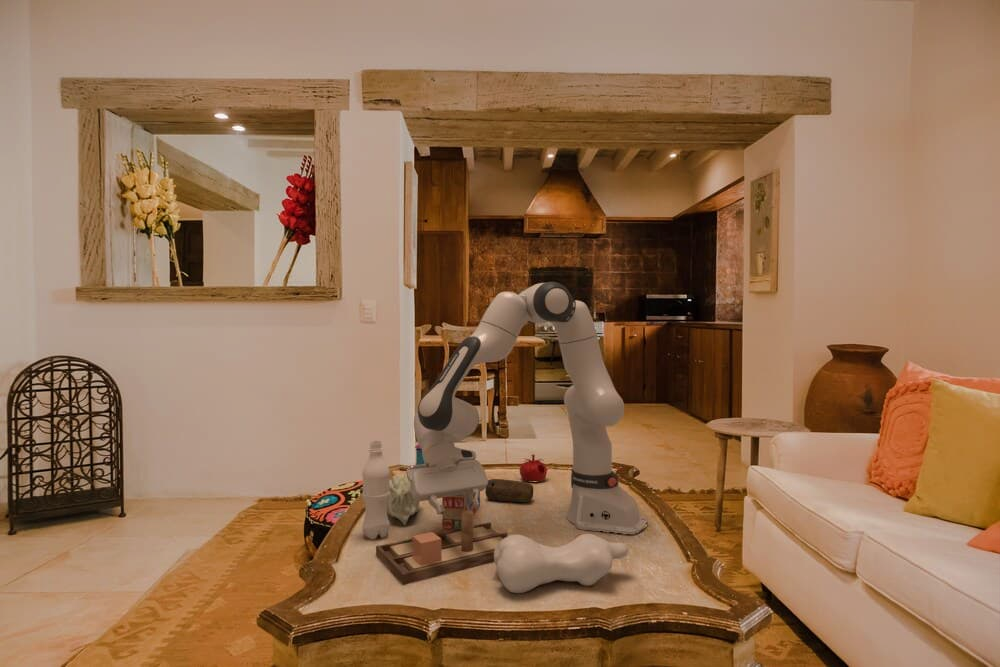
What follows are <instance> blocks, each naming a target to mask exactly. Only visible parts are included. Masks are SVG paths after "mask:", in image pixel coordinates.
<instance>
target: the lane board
mask: <svg viewBox="0 0 1000 667" xmlns="http://www.w3.org/2000/svg"><path fill="white" fill-rule="evenodd" d="M482 526H483V527H484V528H486V529H487V530H489V531H491V532H492V533H494V535H491V536H487V537H482V538H478V539H473V542H478V541H482V540H486V539H491V538H495V537H499V536H500V537H502V538H503V539H504V538H506V537H508V536H509V535H508V532H506V531H505V532H498V531H497V530H495V529H493V528H492V522H484V523H479V524H475V525H474V524H473V528H478V527H482ZM459 531H461V528H460V529H455V530H447V531H442V532H437V533H436V532H435V534H436V535H437V536H438V537H440V538H441V550H443V549H447V548H452V547H456V546H460V545H461V542H460V543H456V544H451V543H450V542H449V541H447V540H446V534H450V533H454V532H459ZM408 542H413V538H409V539H405V540H404V539H403V540H399V541H395V542H391V543H386V544H380V545H376V546H375V551H376V552H375V555H376V557H377V558H378V559H379V560H380V561H381V562H382V564H384V565H385V567H386V568H387V569H388V570H389V571H390V573H392V574H393V575H394V576H395V578H396V579H397V580H398V581H399V582H400V583H401V584H402V585H407V584H411V583H415V582H420V581H424V580H427V579H432V578H435V577H439V576H443V575H447V574H452V573H454V572H458V571H463V570H466V569H471V568H474V567H478V566H481V565H486V564H491V563H493V562H494V551H495V550H493V551H489V552H485V553H481V554H477V555H473V556H469V557H465V558H461V559H456V560H452V561H448V562H444V563H440V564H436V565H432V566H428V567H424V568H420V569H415V570H411V571H410V570H409V569H408V568H407V567H406V566H405V565H404V558H408V557H413V553H412V554H407V555H403V556H399V557H395V556H394V555H393V554H392V553H391V552H390V546H394V545H399V544H403V543H408ZM494 563H495V562H494Z"/></svg>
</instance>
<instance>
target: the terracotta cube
mask: <svg viewBox="0 0 1000 667" xmlns="http://www.w3.org/2000/svg"><path fill="white" fill-rule="evenodd" d="M412 539H413V558H414V559H415V560H416V561H417V562H418V563H419V564H420V565H425V564H430V563H434V562H438V561H441V538H440V537H438V536H437V535H436V532H435V533H434V532H433V531H430V532H425V533H422V534H421V533H420V534H415V535H412Z"/></svg>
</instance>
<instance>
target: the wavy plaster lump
mask: <svg viewBox="0 0 1000 667" xmlns="http://www.w3.org/2000/svg"><path fill="white" fill-rule="evenodd" d="M389 491H390V497H389V500H388V504H387V514H388V515H389V516H391V517H393V518H396V519H398V520H399V521H400V522H401V523H402V524H403V526H407V524H408V521H409V519H410V516H413V515H414V514H415V513H418V512H419V509H420V508H419V507H420V502H421V501H419V502H417V501H415V500H414V499H413V497H412V493H411V486H410V481H409V480H408V477H407V474H406V475H405V474H404V476H403V477H400V476H398V475H396V474H394V475H393V476H392V477H391V479H390V478H389Z"/></svg>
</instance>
